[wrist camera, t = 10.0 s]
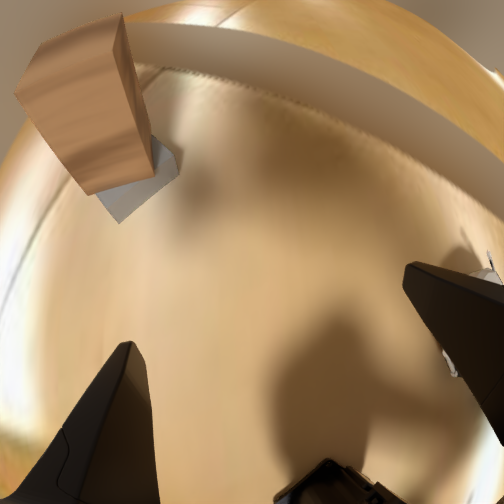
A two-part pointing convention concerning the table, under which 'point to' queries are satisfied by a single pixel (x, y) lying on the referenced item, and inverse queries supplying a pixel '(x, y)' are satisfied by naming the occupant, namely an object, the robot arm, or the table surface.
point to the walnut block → (90, 105)
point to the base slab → (141, 185)
